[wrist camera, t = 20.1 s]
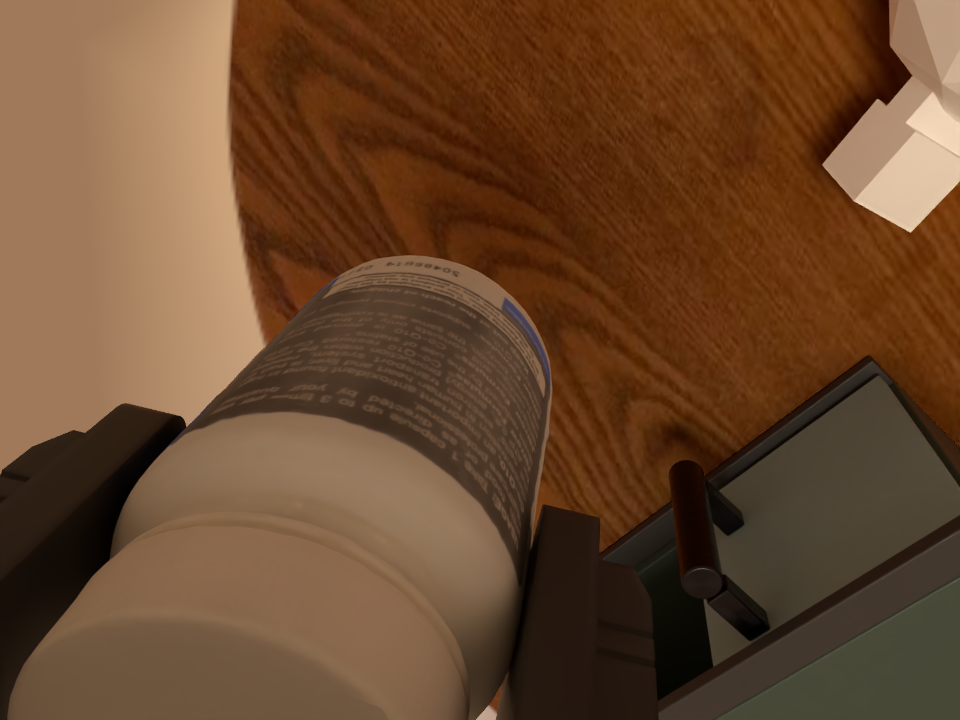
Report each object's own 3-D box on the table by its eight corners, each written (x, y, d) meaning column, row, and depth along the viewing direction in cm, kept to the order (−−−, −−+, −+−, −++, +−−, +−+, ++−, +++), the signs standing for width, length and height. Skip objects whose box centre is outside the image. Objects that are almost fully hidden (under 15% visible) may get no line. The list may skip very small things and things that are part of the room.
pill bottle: (277, 250, 14) (-123, 552, 6) (553, 248, 13) (471, 586, 6) (314, 485, 16) (40, 934, 8) (556, 495, 15) (499, 997, 8)
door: (635, 460, 31) (641, 607, 24) (820, 315, 28) (897, 433, 20) (696, 517, 32) (722, 679, 24) (885, 381, 29) (983, 520, 21)
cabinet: (522, 610, 36) (492, 814, 27) (869, 354, 29) (983, 515, 20) (722, 780, 38) (756, 1020, 29) (1088, 581, 31) (1280, 816, 22)
